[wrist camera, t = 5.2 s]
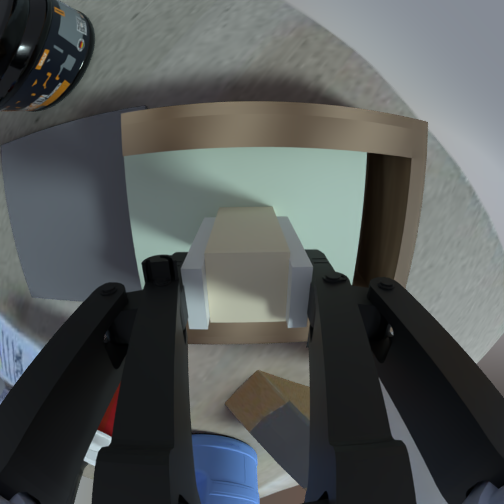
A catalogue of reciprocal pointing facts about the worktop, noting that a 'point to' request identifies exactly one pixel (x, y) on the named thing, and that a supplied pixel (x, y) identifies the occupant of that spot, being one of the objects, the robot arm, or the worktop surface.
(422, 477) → the bottle
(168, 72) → the worktop surface
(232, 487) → the water jug
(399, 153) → the walnut box
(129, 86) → the worktop surface
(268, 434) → the sandwich container
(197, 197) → the cover plate
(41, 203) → the charcoal mat
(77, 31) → the supplement container
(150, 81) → the worktop surface
